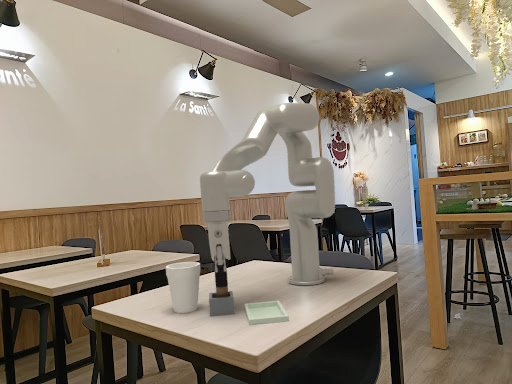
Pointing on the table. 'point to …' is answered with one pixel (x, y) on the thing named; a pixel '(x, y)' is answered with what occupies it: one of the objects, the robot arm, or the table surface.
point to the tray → (265, 312)
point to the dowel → (222, 291)
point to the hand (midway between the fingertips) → (221, 284)
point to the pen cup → (221, 304)
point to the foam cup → (184, 285)
